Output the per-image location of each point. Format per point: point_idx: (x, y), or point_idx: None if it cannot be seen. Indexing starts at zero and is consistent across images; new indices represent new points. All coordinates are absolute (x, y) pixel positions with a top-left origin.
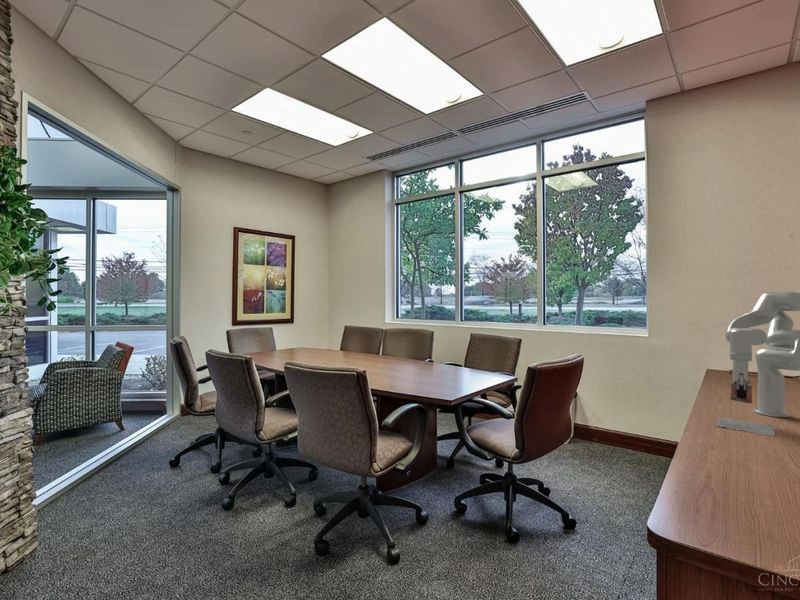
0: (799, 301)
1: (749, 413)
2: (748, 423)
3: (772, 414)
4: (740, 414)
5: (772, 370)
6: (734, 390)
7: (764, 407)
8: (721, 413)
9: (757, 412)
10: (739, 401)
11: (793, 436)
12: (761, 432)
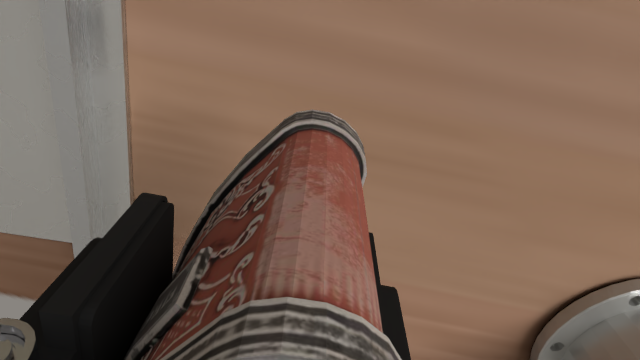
0: None
1: (603, 237)
2: (63, 134)
3: (544, 344)
4: (542, 170)
5: None
6: (219, 256)
7: (621, 354)
8: (527, 15)
9: (615, 287)
10: (212, 196)
11: (30, 299)
12: None
